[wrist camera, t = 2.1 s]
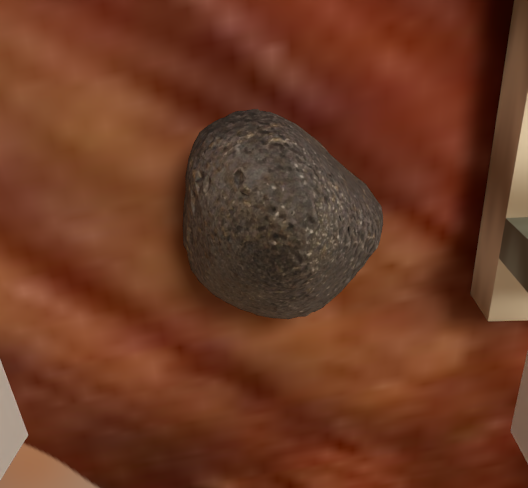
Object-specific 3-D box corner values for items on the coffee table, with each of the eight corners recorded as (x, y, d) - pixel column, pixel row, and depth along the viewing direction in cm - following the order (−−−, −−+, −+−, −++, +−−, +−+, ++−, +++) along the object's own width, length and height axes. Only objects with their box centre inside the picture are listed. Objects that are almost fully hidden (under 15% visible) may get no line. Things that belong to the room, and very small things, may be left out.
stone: (324, 256, 30) (462, 227, 21) (229, 354, 26) (351, 369, 17) (228, 121, 28) (335, 28, 19) (108, 205, 24) (176, 136, 15)
